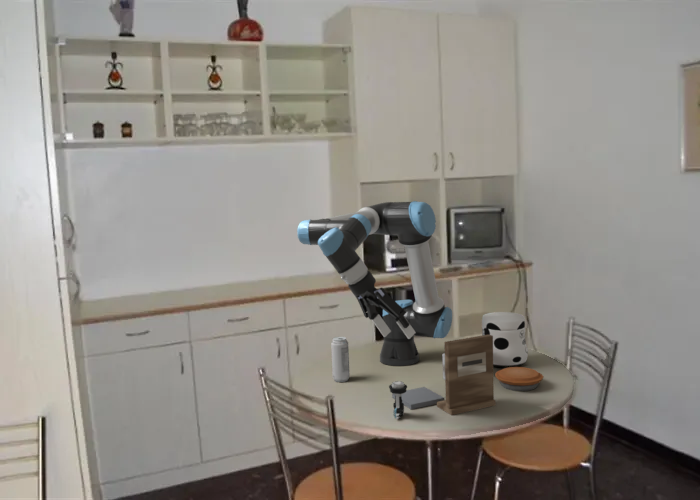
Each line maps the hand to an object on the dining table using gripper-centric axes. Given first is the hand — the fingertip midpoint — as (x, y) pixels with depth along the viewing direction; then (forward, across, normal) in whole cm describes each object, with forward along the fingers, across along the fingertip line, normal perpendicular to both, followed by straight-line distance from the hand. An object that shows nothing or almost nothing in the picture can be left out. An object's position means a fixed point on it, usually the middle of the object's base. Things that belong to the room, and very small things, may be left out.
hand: (399, 335), depth 182 cm
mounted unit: (+33, -1, +5) cm, 33 cm away
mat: (+26, -14, -2) cm, 29 cm away
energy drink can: (+16, -45, -9) cm, 48 cm away
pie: (+46, -7, +27) cm, 54 cm away
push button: (+20, -5, -14) cm, 25 cm away
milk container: (+50, -28, +40) cm, 69 cm away
